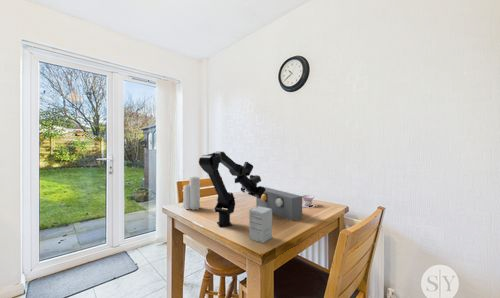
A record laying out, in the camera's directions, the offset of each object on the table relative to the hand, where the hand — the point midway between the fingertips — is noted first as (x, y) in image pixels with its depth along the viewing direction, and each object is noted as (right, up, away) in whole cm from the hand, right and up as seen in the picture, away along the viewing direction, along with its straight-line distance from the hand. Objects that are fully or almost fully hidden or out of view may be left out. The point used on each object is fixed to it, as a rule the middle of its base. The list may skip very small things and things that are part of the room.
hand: (260, 197), depth 131 cm
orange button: (+2, -2, +1) cm, 3 cm away
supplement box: (-2, -9, -38) cm, 39 cm away
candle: (-44, -8, +7) cm, 46 cm away
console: (+10, -8, -2) cm, 13 cm away
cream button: (+10, -2, -10) cm, 14 cm away
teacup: (+32, -8, +12) cm, 36 cm away
